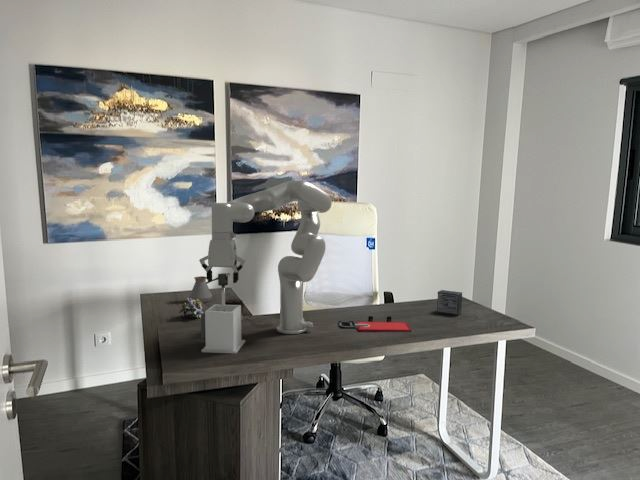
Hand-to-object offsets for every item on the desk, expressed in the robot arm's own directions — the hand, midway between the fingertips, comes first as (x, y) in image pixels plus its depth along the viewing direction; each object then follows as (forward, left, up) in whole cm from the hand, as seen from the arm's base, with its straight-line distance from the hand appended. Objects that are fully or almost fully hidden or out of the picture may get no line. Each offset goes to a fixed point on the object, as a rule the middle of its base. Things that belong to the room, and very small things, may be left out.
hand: (222, 282), depth 175 cm
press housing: (0, 0, -25) cm, 25 cm away
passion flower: (+27, -37, -25) cm, 52 cm away
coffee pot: (+28, -69, -25) cm, 78 cm away
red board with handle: (-57, -34, -26) cm, 71 cm away
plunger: (0, 0, -17) cm, 17 cm away
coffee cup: (+2, -20, -25) cm, 32 cm away
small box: (-94, -61, -25) cm, 115 cm away
